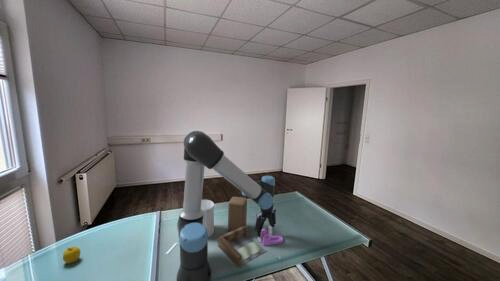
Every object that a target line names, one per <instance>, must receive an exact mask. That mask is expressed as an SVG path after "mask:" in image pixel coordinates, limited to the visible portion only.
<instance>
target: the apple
mask: <svg viewBox="0 0 500 281" xmlns="http://www.w3.org/2000/svg"><path fill="white" fill-rule="evenodd" d="M80 256H81V249H80V247H78V246H72V247H67V248H66V249H65V250H64V252H63V254H62V261H64V263H66V264H73V263H76V262H77V261H78V260H79V258H80Z"/></svg>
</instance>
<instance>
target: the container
mask: <svg viewBox="0 0 500 281" xmlns="http://www.w3.org/2000/svg"><path fill="white" fill-rule="evenodd" d="M201 209H202V210H203V212H204V214H203V225H204V226H205V227H206V229H207V233H208V238H209V237H211V236H212V235H213V234H214V232H215V203H214V202H213V201H212V200H210V199H202V202H201Z"/></svg>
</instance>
